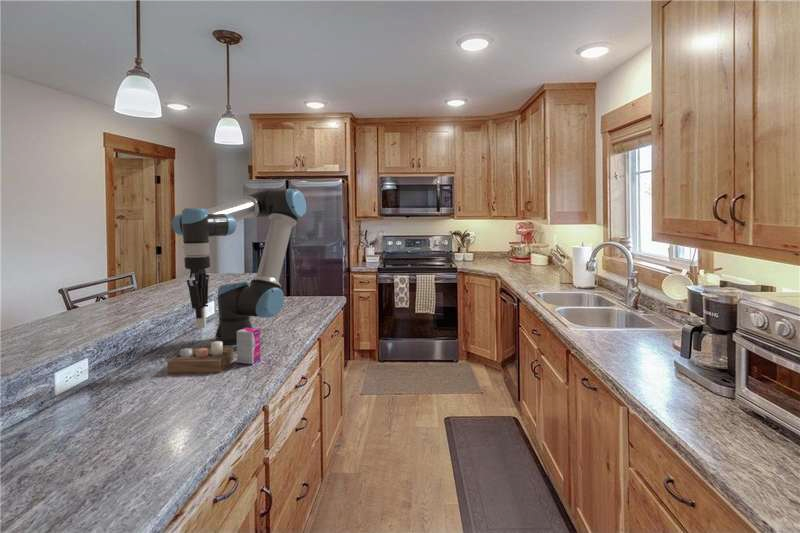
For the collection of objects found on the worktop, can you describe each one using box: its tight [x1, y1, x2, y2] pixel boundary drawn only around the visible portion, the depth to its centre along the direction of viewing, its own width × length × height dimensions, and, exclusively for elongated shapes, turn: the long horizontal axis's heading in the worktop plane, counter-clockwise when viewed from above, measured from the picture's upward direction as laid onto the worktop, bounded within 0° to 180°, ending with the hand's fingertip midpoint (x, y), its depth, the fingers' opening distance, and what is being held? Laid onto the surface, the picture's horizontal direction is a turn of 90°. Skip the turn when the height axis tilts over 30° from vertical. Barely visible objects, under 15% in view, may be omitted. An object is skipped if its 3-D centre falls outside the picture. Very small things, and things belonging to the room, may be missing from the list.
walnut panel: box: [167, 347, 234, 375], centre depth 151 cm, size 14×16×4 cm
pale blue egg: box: [179, 347, 193, 357], centre depth 151 cm, size 4×4×5 cm
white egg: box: [210, 340, 224, 356], centre depth 151 cm, size 4×4×5 cm
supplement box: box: [236, 327, 261, 366], centre depth 155 cm, size 6×6×12 cm
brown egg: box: [195, 347, 209, 357], centre depth 151 cm, size 4×4×5 cm
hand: (201, 327), depth 151 cm, fingers closed
